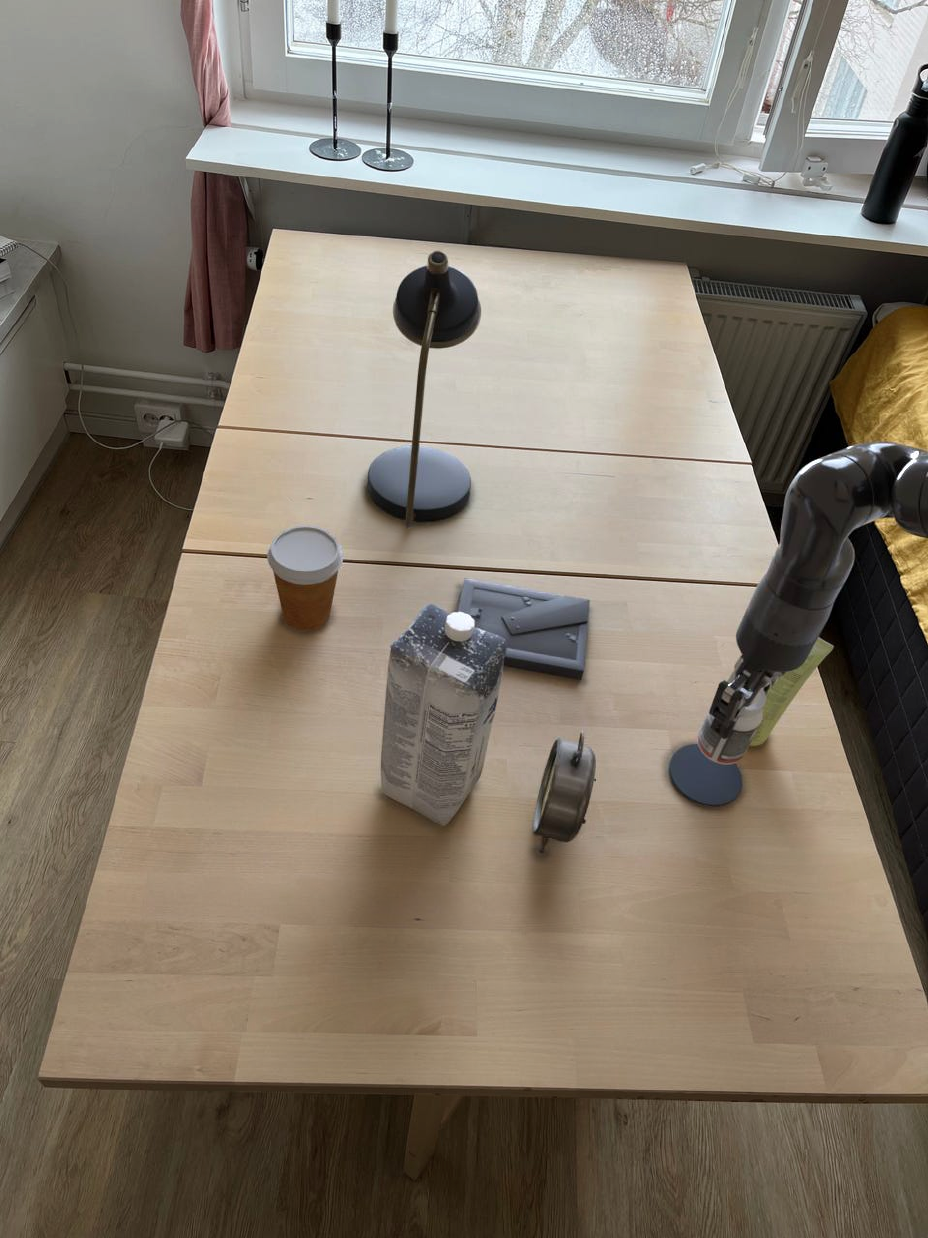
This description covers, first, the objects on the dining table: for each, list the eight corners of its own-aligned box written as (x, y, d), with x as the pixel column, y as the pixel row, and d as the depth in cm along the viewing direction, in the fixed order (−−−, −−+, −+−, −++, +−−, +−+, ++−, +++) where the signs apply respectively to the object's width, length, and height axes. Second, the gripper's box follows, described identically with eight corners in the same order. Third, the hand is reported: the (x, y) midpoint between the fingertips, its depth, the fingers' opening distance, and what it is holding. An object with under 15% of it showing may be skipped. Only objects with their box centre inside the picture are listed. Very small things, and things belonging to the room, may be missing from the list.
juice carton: (448, 839, 109) (475, 686, 89) (369, 795, 111) (379, 637, 92) (485, 783, 114) (519, 628, 95) (410, 743, 117) (427, 584, 98)
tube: (766, 717, 126) (822, 613, 112) (775, 748, 123) (834, 646, 108) (724, 715, 125) (775, 610, 111) (732, 746, 122) (786, 643, 108)
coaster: (755, 778, 119) (756, 776, 119) (714, 820, 114) (715, 818, 114) (696, 733, 123) (697, 731, 123) (654, 772, 118) (655, 770, 118)
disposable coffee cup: (256, 622, 128) (251, 556, 119) (295, 579, 134) (293, 513, 126) (318, 650, 126) (318, 584, 117) (355, 605, 132) (357, 539, 123)
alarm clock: (540, 778, 116) (564, 692, 104) (584, 789, 115) (614, 704, 103) (525, 857, 108) (550, 774, 96) (573, 869, 108) (603, 787, 96)
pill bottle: (748, 739, 115) (776, 686, 108) (737, 774, 112) (766, 721, 104) (702, 720, 117) (727, 666, 109) (690, 754, 113) (714, 700, 106)
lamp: (475, 461, 157) (508, 230, 130) (461, 549, 142) (495, 309, 114) (377, 446, 157) (389, 211, 130) (352, 533, 142) (360, 288, 114)
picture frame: (587, 609, 136) (463, 587, 137) (590, 598, 135) (464, 576, 135) (581, 680, 127) (448, 656, 127) (584, 669, 125) (450, 645, 126)
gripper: (779, 672, 92) (726, 773, 105) (851, 604, 100) (795, 705, 112) (715, 628, 96) (671, 731, 108) (790, 565, 104) (741, 668, 116)
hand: (734, 718), depth 110 cm, fingers closed on pill bottle, 5 cm apart
